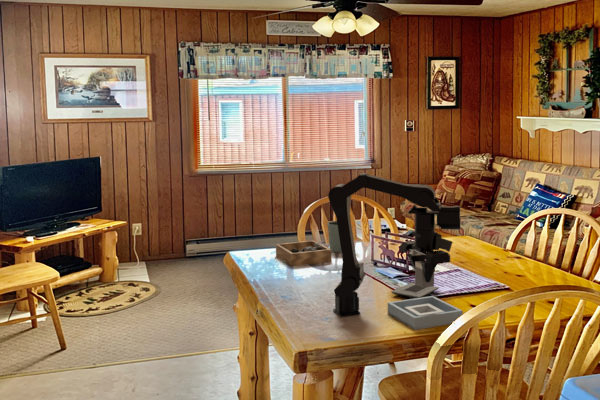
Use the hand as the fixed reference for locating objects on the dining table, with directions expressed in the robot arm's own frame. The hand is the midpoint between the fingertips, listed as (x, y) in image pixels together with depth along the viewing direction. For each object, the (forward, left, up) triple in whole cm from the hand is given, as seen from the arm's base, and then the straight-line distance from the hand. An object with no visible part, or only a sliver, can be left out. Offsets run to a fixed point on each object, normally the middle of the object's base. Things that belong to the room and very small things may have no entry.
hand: (424, 280), depth 201 cm
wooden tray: (-6, +84, -12) cm, 85 cm away
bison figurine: (-5, +81, -12) cm, 82 cm away
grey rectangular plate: (+10, +22, -12) cm, 27 cm away
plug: (0, 0, -2) cm, 2 cm away
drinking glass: (+14, +92, -12) cm, 94 cm away
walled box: (0, 0, -12) cm, 12 cm away
